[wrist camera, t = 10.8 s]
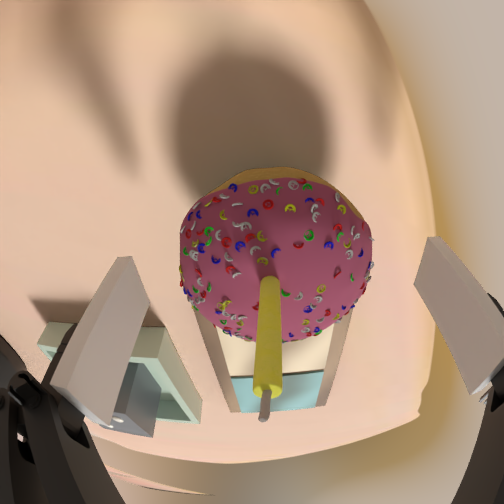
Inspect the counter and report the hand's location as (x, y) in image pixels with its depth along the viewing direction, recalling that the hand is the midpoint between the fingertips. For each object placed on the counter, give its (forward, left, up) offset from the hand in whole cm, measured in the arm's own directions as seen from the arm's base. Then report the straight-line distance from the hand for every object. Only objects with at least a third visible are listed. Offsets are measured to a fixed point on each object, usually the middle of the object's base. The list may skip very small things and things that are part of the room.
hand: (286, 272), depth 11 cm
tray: (-16, -16, -5) cm, 23 cm away
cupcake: (0, 0, -5) cm, 5 cm away
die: (-16, -16, -4) cm, 22 cm away
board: (0, -15, -5) cm, 15 cm away
